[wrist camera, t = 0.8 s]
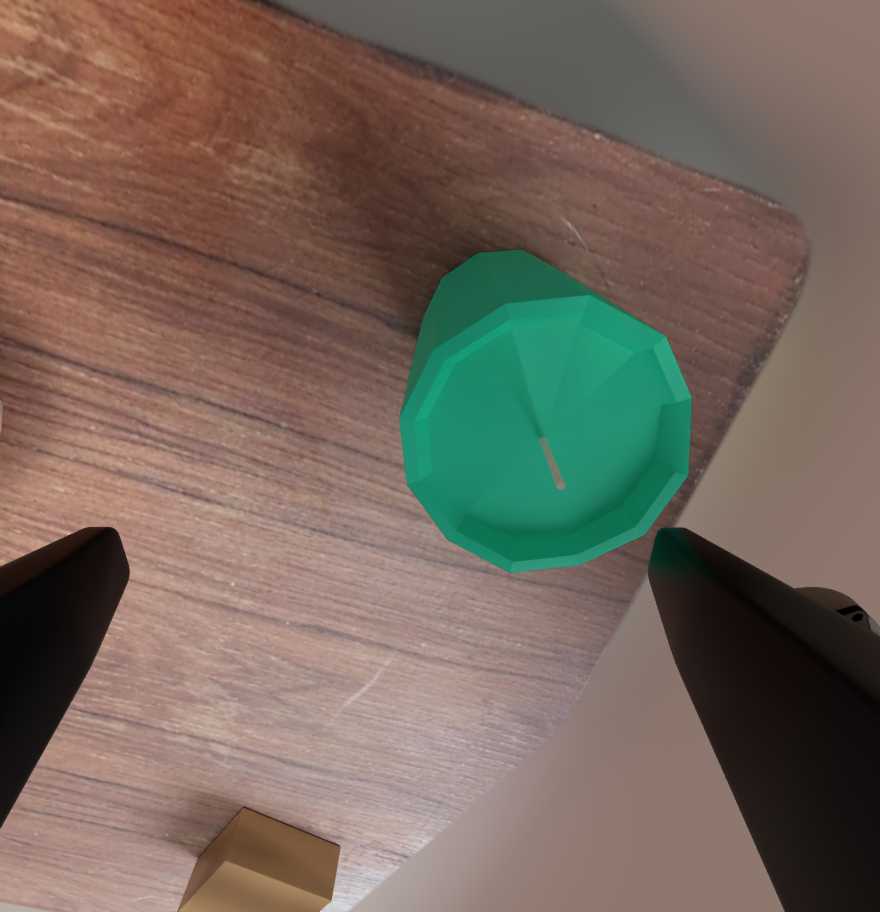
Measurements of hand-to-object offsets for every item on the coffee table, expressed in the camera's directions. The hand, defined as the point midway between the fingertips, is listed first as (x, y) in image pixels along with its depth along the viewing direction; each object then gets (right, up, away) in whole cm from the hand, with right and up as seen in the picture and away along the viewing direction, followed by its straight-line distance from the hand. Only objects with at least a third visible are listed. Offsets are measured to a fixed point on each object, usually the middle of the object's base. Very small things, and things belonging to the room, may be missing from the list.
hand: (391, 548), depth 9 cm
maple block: (-10, -25, +26) cm, 37 cm away
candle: (+3, +6, +11) cm, 13 cm away
